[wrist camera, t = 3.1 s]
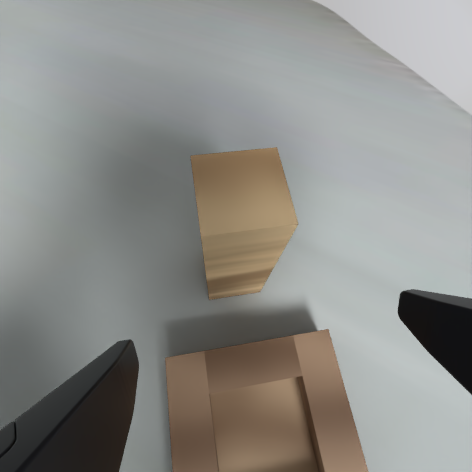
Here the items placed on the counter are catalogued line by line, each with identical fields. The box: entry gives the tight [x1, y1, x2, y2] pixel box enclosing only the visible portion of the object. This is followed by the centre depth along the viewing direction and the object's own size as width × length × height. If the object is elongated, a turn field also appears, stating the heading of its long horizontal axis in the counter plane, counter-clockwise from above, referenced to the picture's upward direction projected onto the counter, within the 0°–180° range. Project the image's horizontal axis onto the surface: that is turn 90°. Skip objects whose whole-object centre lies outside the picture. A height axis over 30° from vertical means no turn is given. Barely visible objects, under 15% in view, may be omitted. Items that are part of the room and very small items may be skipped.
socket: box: [165, 329, 368, 472], centre depth 18 cm, size 11×11×2 cm
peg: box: [191, 147, 298, 300], centre depth 18 cm, size 4×4×12 cm
